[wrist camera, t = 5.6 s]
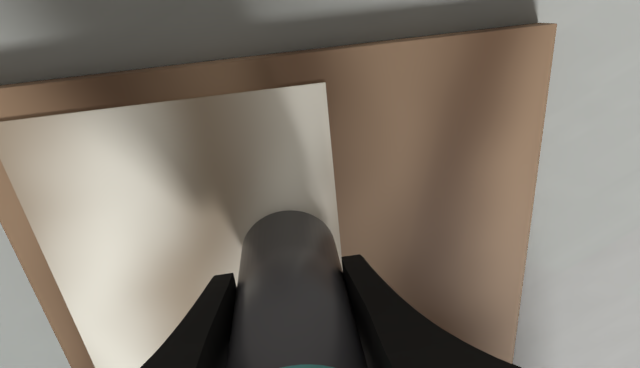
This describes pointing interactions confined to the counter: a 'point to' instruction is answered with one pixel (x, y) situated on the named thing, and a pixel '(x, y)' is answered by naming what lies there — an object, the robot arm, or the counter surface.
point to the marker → (292, 299)
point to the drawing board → (278, 180)
